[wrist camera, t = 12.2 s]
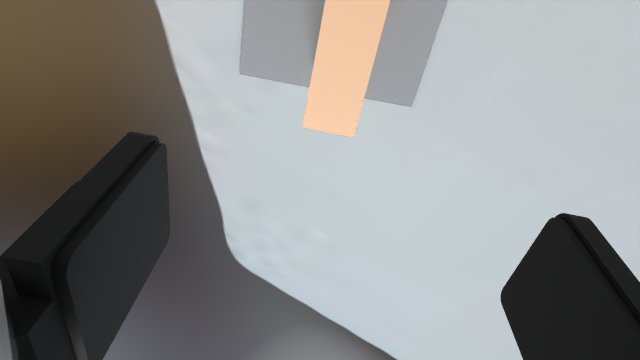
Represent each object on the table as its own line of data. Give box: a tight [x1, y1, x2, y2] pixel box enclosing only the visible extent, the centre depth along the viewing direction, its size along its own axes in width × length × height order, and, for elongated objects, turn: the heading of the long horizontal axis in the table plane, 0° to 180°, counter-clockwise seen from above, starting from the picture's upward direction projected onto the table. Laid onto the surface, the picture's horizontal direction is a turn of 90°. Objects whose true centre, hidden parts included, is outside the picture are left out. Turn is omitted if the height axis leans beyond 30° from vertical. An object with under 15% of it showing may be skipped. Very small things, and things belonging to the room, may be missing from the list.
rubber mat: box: [240, 0, 447, 107], centre depth 29 cm, size 14×11×1 cm
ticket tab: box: [302, 0, 390, 137], centre depth 25 cm, size 3×8×10 cm, turn 169°
